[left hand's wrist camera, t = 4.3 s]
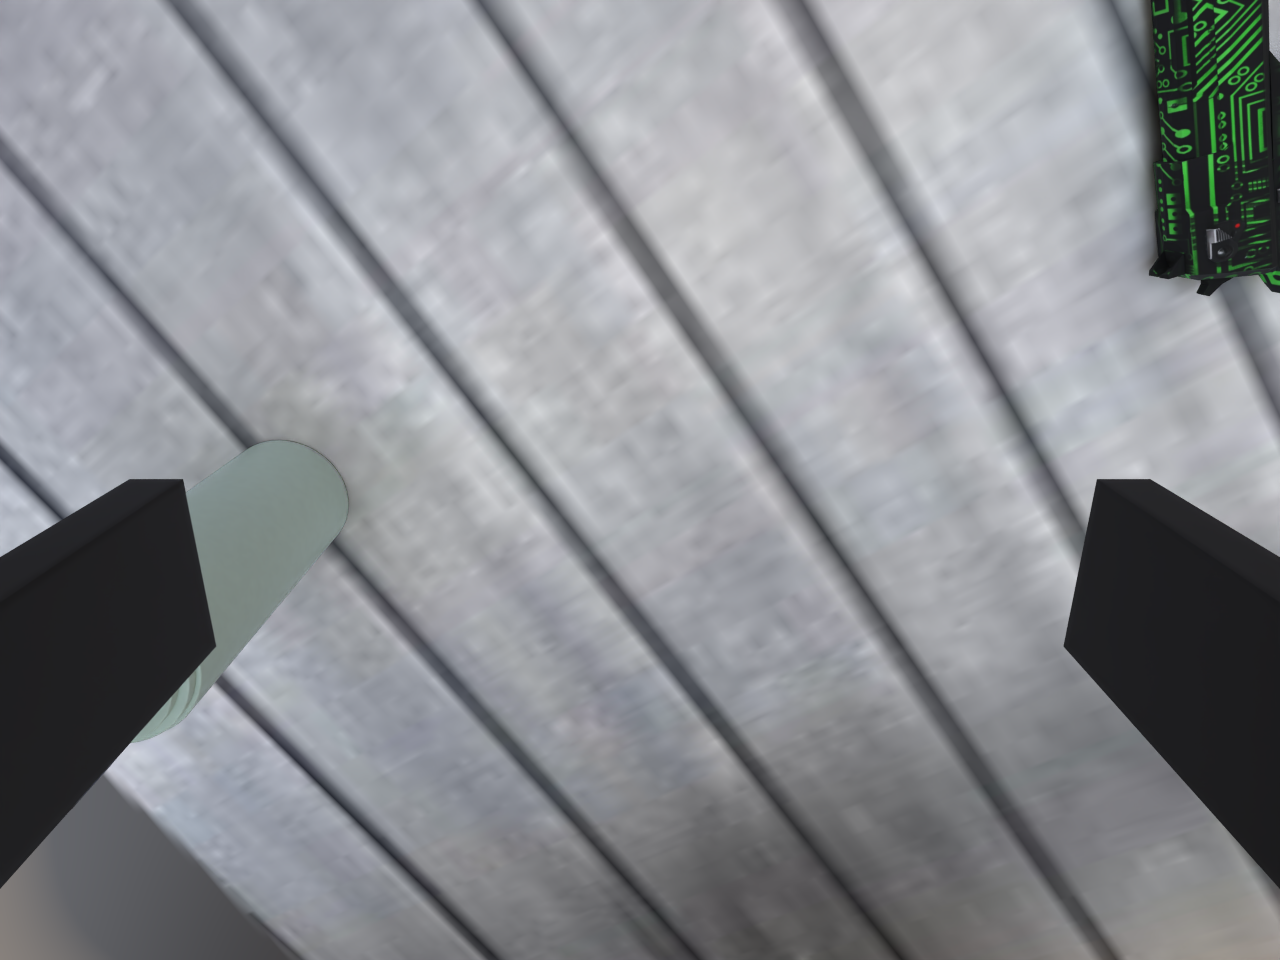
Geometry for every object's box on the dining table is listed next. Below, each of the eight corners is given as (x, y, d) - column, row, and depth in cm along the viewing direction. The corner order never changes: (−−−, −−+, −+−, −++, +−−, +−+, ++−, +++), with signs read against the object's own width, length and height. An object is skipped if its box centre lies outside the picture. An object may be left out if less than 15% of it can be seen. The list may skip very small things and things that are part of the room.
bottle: (277, 571, 43) (9, 868, 25) (201, 476, 42) (-150, 719, 23) (372, 518, 42) (166, 786, 24) (299, 417, 41) (13, 624, 22)
